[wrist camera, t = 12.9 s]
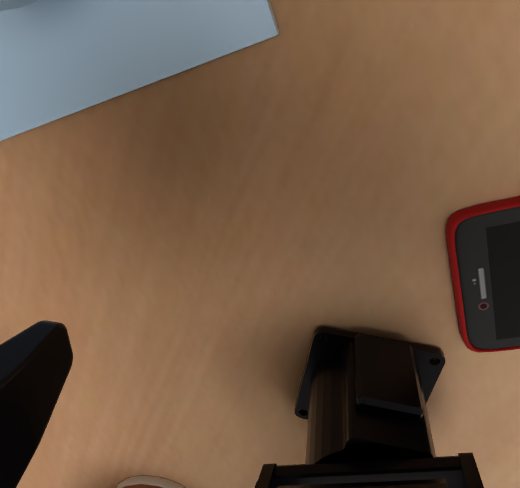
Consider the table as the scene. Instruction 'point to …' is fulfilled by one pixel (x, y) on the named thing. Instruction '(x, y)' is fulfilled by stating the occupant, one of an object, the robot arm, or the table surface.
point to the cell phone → (486, 273)
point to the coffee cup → (148, 482)
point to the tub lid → (110, 49)
